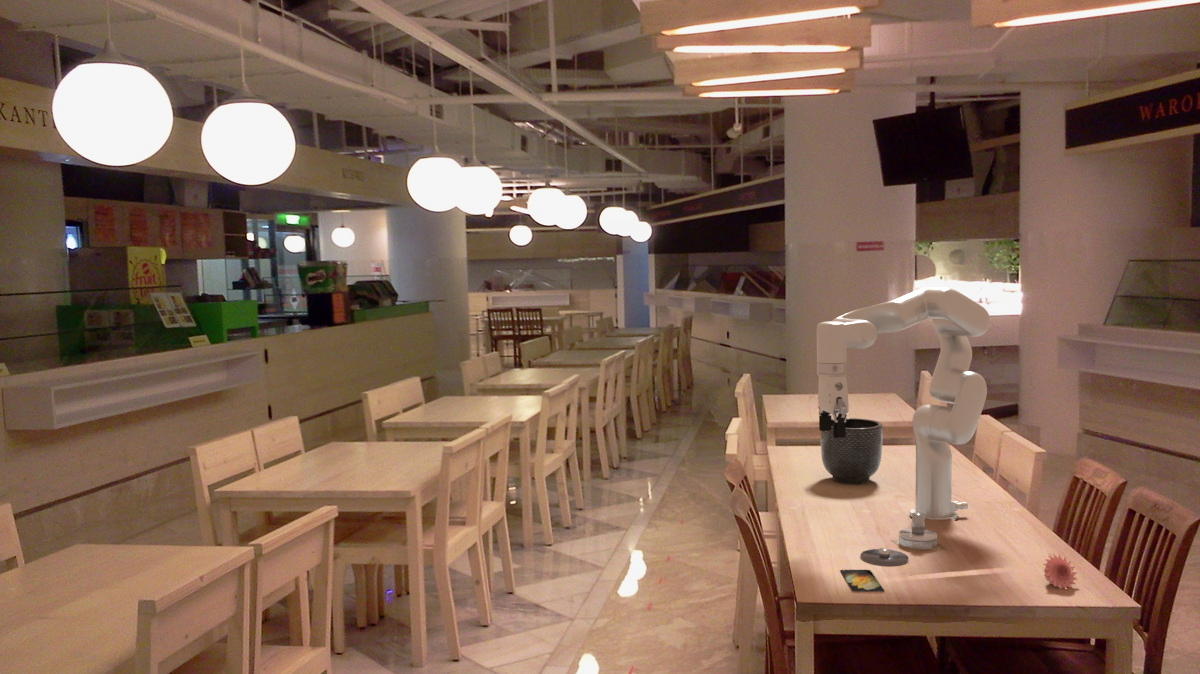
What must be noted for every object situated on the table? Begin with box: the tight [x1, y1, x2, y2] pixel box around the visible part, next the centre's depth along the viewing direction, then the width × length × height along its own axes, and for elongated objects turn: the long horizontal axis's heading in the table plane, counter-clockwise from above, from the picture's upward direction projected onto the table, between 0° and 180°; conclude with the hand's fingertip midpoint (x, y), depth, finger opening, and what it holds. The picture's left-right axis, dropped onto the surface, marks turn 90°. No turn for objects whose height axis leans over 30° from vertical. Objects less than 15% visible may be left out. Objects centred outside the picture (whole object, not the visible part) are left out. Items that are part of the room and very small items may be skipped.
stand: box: [890, 538, 947, 553], centre depth 236 cm, size 10×10×3 cm
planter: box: [819, 417, 884, 485], centre depth 306 cm, size 20×20×19 cm
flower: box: [1043, 553, 1078, 590], centre depth 208 cm, size 8×8×6 cm
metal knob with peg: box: [898, 512, 938, 551], centre depth 235 cm, size 9×9×8 cm
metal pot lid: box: [860, 547, 909, 567], centre depth 226 cm, size 11×11×3 cm
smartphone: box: [839, 569, 886, 594], centre depth 213 cm, size 7×1×15 cm
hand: (832, 433), depth 246 cm, fingers open, 9 cm apart
